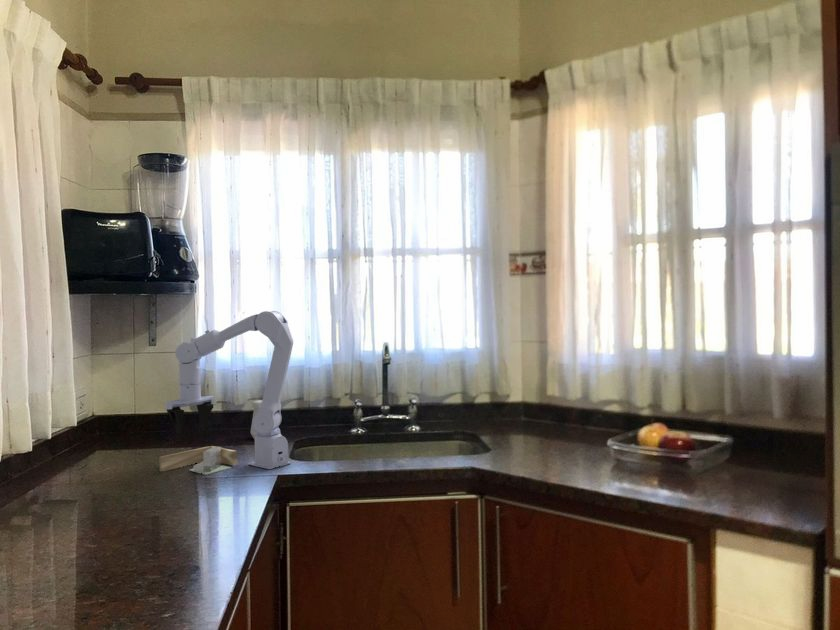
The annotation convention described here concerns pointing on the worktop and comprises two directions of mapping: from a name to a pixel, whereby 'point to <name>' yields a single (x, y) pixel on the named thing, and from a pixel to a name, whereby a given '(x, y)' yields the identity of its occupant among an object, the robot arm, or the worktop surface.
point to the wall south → (228, 456)
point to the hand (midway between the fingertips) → (191, 430)
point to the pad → (213, 470)
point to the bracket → (209, 460)
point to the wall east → (181, 459)
